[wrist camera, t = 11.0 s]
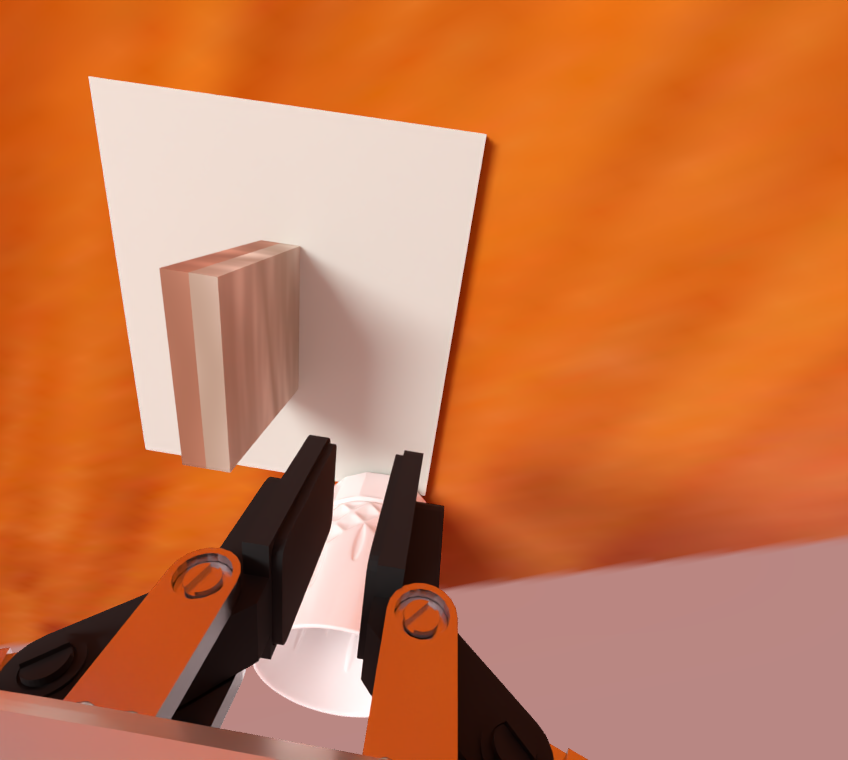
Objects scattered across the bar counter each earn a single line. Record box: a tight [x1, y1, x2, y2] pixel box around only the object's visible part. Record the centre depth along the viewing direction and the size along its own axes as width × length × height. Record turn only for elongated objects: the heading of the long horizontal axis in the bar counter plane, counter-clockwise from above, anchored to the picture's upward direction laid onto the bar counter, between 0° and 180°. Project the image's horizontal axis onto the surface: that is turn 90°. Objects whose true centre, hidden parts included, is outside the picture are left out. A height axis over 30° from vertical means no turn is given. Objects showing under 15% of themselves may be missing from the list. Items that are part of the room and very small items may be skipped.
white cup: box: [253, 472, 426, 717], centre depth 24 cm, size 8×8×10 cm
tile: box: [159, 240, 300, 472], centre depth 20 cm, size 2×8×8 cm, turn 173°
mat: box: [88, 76, 487, 496], centre depth 24 cm, size 18×20×1 cm
